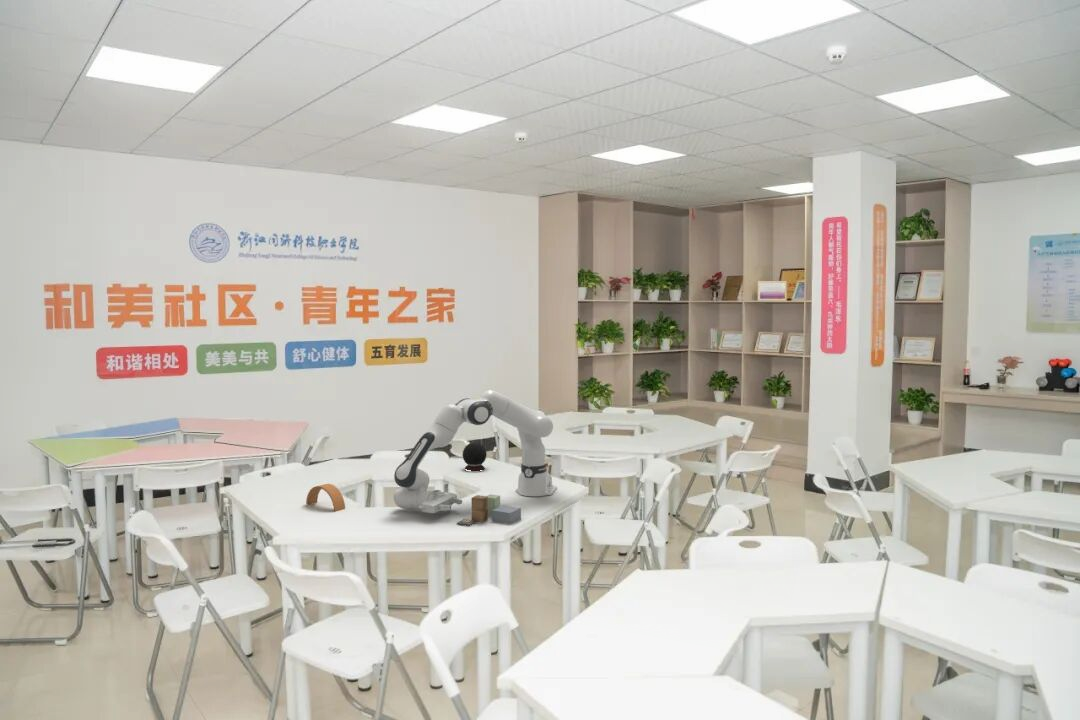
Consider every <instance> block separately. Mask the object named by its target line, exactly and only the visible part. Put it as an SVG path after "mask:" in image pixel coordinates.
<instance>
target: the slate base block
mask: <svg viewBox="0 0 1080 720" xmlns="http://www.w3.org/2000/svg"><path fill="white" fill-rule="evenodd" d="M519 519H520V520H521V519H522V508H521V507H518V506H512V505H505V504H502V505H500V507H497V508H495V509H493V510H492V516H491V522H492V521H493V523H499V522H501V523H500V524H505V523H507V524H506V525H511V524H512V525H513V524H514V523H515V522H518V521H520V520H519ZM517 520H518V521H517Z"/></svg>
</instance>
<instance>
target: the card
mask: <svg viewBox="0 0 1080 720" xmlns="http://www.w3.org/2000/svg"><path fill="white" fill-rule="evenodd" d="M474 523H475V524H476V523H477V522H476V520H472V519H467V518H463V519H461V520H459V521H458V522H456V525H457V524H459V525H458V526H463V525H466V526H465V527H471V526H473V525H475V524H474ZM472 524H473V525H472ZM470 525H471V526H470Z"/></svg>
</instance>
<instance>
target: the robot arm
mask: <svg viewBox="0 0 1080 720" xmlns="http://www.w3.org/2000/svg"><path fill="white" fill-rule="evenodd" d="M492 416H493V417H495V418H497V419H499V420H501V421H502V422H504V423H506V424H508V425H510V426H512V427H513V428H516V430H517V431H518V435H519V436H518V437H519V440H520V444H521V446H520V447H521V465H520V471H521V473H519V475H518V478H517V479H518V480H517V488H515V492H516V493H518V494H519V495H521V496H525V497H544V496H552V495H553V494H554V493H555V491H556V490H557V489H558V486H557V485H554V484H553V477H552V475H551V474H550V473H549V472H548V471H547V470H548V467H549V463H548V462H546V447H545V445H544V443H543V440H542V438H546V437H549V436H550V435H551V434H552V432H553V430H554V423H553V421H552V419H551V418H549V417H548V416H546V415H545V414H543V413H541V412H539V411H538V410H535V409H533V408H531V407H528V406H526V405H524V404H523V403H522V404H521V403H520V402H518V401H517V400H516V399H515V400H514V399H513V398H511V397H509V396H507V395H505V394H503V393H501V392H498V391H496V390H493V389H489V390H485V391H484V392H483V393H482V395H481V396H480V398H479V399H474V398H467V397H466V398H462V399H460V400H459V401H458V402H457V403H455V404H453V403H449V404H446V405H444V407H443V408H442V409H441V410H440V412H439V413H438V414H437V416H436V417H435V419H434V421H433V423H432V425H431V426H430V428H429V429H428V430H427V431H426V432H425V433H423V434H422V435H421V436H420V438H419V439H418V441H417V442H416V444H415V445H414V447H413V448H412V449H411V451H410V452H409V454H408V455H407V457H406V458H405V459H404V460H403V461H402V462H401V463H400V464H399V465H398V466H397V467H396V469H395V471H394V475H393V477H394V478H393V479H394V482H395V484H396V485H397V486H399V488H398V489H397V488H396V490H395V491H394V494H393V502H394V504H395V506H397V507H398V508H400V509H403V510H409V511H414V510H415V511H418V512H423V513H427V514H436V513H439V512H440V511H451V510H452V505H454V504H457V505H462V504H463V500H462V499H459V498H458V495H457V494H456V493H453V492H448V491H441V490H440V489H437V490H428V487H429V485H430V484H429V483H430V476H429V474H428V473H427V472H426V471H424V470H422V469H420V468H418V467H419V466H420V464H421V463H422V461H424V458H425V457H426V455H427V454H428V452H430V451H431V450H433V449H436V448H444V447H446V446H448V445H450V444H451V442H452V441H453V440H454V438H455V435H456V434H457V432H458V430H459V428H460V427H461V426H462V424H464V423H468V424H471V425H474V426H480V425H484V424H486V423H487V422H488V421H489V420H490V417H492Z"/></svg>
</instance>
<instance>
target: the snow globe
mask: <svg viewBox="0 0 1080 720" xmlns="http://www.w3.org/2000/svg"><path fill="white" fill-rule="evenodd" d="M487 455H488V454H487V450H486V447H484V445H483V444H482V443H479V442H470V443H468V444H467V445H466V446H465V447H464V448H463V450H462V454H461V456H462V459H463V461H464V463H465V464H466V465H465V467H464V468H465V469H467V470H471V471H480V470H484V469H486V468H485V466H484V465H482V464H484V463H485V462H486V459H487ZM484 471H485V470H484ZM480 472H481V471H480Z"/></svg>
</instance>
